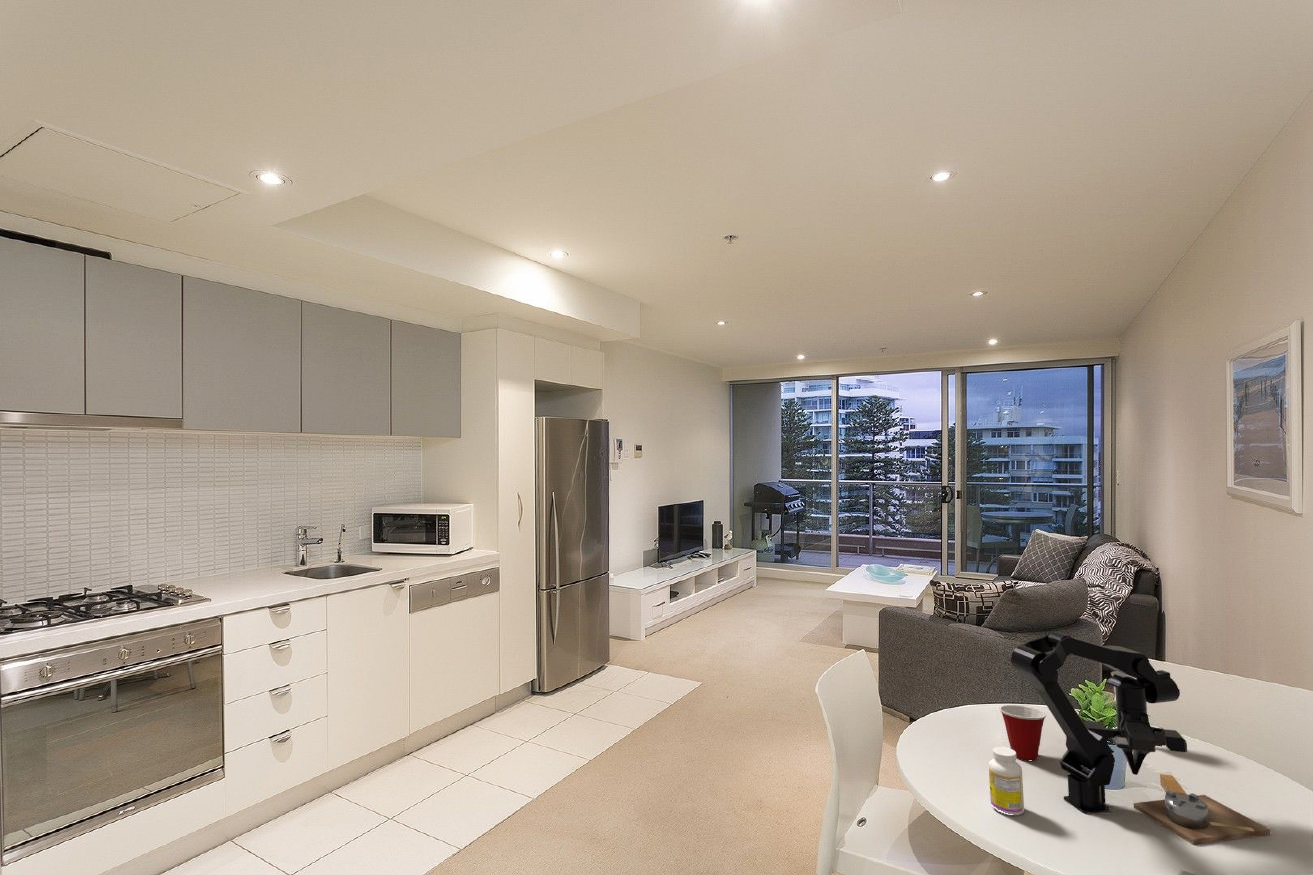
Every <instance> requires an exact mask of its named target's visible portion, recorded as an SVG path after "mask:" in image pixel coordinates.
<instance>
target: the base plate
mask: <svg viewBox="0 0 1313 875" xmlns="http://www.w3.org/2000/svg"><path fill="white" fill-rule="evenodd" d="M1197 795H1198V796H1199V799H1201V800H1202V801H1204V802H1205V803H1206V804H1207V806H1208V823H1209V825H1208V827H1206V828H1191V827H1187V826H1183V825H1180V824H1178V823H1176V822H1174V821H1172V820H1170V819H1169V818H1168V817H1167V816H1166V806H1165V798H1164V799H1158V800H1148V801H1141V802H1133V809H1135V810H1137V811H1139V812H1140V813H1142V814H1144V815H1145V816H1146V817H1148V818H1150V819H1151V820H1153V821H1155V822H1156V823H1158V824H1159V825H1160V826H1163V827H1165V828H1166V829H1168V830H1169V831H1171V832H1172V833H1174V834H1176V835H1177V836H1179V837H1181V838H1183V839H1184V840H1185V841H1187V842H1189V843H1191V845H1199V844H1207V843H1215V842H1222V841H1223V842H1225V841H1231V840H1237V839H1238V840H1239V839H1245V838H1246V839H1247V838H1251V837H1260V836H1268V835H1271V833H1272V832H1271V829H1270V828H1268V827H1266V826H1264V825H1263V824H1261V823H1259V822H1257V821H1255V820H1253V819H1251V818H1249V817H1247V816H1246V815H1244V814H1242V813H1240V812H1238V811H1237V810H1234V809H1232V808H1231V807H1228V806H1226V805H1225V804H1223V803H1222V802H1219V801H1217V800H1215V799H1213V798H1211V797H1210V796H1207V795H1206V794H1197Z"/></svg>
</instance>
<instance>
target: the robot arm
mask: <svg viewBox="0 0 1313 875" xmlns="http://www.w3.org/2000/svg"><path fill="white" fill-rule="evenodd" d="M1049 652H1051V653H1049ZM1047 653H1048V654H1047ZM1070 655H1074V656H1077V657H1081V658H1085V659H1087V660H1091V661H1095V662H1098V663H1101V664H1102V665H1104V666H1106V667H1107V668H1110V669H1111V670H1112V671H1118V672H1121V673H1124V674H1126V675H1129V676H1132V677H1134V678H1137V679H1134V678H1132V677H1121V676H1118V675H1116V674H1114V675H1113V676H1111V677H1110V678H1109V679H1107V680H1106V684H1107V685H1110V686H1112V687H1113V688H1114V687H1115V692H1116V695H1115V709H1116V721H1117V723H1116V728H1110V727H1109V728H1108V727H1105V725H1104V723H1103V722H1102V721H1101V722H1099V721H1090V720H1084V721H1083V720H1082V718H1081V717H1080V715H1079V713H1078V712H1077V710H1076V709H1075V707H1074V706H1073V704H1072V702H1071V701H1070V699H1069V697H1068V696H1067V695H1066V693H1065V692H1064V690H1063V688H1062V687H1061V684H1060V683H1059V681H1058V679H1059V671H1058V670H1059V669H1060V668H1061V667H1063V666H1064V664H1065V662H1066V660H1067V657H1068V656H1070ZM1010 663H1011V665H1012V667H1013V668H1014V669H1015V670H1016V671H1017V673H1018V674H1019V675H1020V676H1021V677H1022V678H1024V679H1025V680H1026V681H1027V682H1029V684H1031V685H1032V686H1033V687H1035V688H1034V689H1035V690H1036V691H1037V693H1038V694H1039V695H1040V697H1041V699H1042V701H1043V702H1044V704H1045V705H1046V707H1047V708H1048V710H1049V711H1050V713H1051V714H1052V716H1053V718H1054V719H1055V721H1056V723H1057V724H1058V725H1059V727H1060V728H1061V730H1062V732H1063V733H1064V735H1065V737H1066V739H1065V746H1066V749H1067V750H1066V751H1065V752H1064V754H1063V755H1062V757H1061V758H1059V761H1058V763H1059V765H1060V766H1059V767H1060V768H1061V770H1062V771H1065V772H1066V773H1068V774H1067V791H1068V792H1067V793H1068V795H1064V796H1063V800H1064V801H1066V802H1067V803H1069V804H1071V805H1072V806H1073V807H1075V808H1076V809H1078V810H1080V811H1081V812H1082V813H1084V814H1091V813H1100V812H1101V813H1102V812H1110V811H1111V807H1110V806H1109V805H1107V804H1106V801H1107V800H1106V786H1110V784H1111V780H1112V776H1113V772H1114V769H1115V762H1116V760H1115V756H1114V753H1115V751H1114V750H1113V749H1112V748H1111V747H1110V745H1109V743H1108V741H1109V738H1110V739H1111V740H1112V742H1113V743H1114V745H1115V746H1116V747H1117V748H1118V749H1121V750H1122V752H1123V754H1124V756H1125V757H1124V758H1125V759H1126V761H1127V764H1128V766H1129V769H1130V771H1131V773H1132V775H1139V772H1140V770H1141V767H1142V764H1143V763H1144V760H1145V758H1146V757H1147V755H1149V754H1150V753H1155V752H1156V751H1157V749H1156V747H1163V746H1165V747H1166V748H1167V749H1168V750H1169V751H1170V752H1178V753H1188V744H1187V740H1186V739H1185V738H1184V737H1183V736H1182V734H1180V733H1179V732H1178V731H1177V730H1176V729H1175V730H1174V729H1165V728H1163V727H1155V726H1152V725H1151V724H1150V721H1149V715H1148V706H1147V703H1148V704H1160V703H1169V702H1176V701H1177V700H1178V699H1179V697H1180V695H1181V694H1180V693H1181V690H1180V689H1179V686H1178V685H1177V683H1176V681H1175V680H1174V679H1172V677H1171V672H1169V671H1165V670H1162V669H1160V670H1155V668H1154V667H1153V665H1152V664H1151V663H1150V659H1149V657H1148V655H1147V654H1144V653H1143V652H1140V651H1139V652H1138V651H1135V650H1133V649H1130V648H1126V647H1123V646H1119V645H1099V644H1097V643H1096V644H1095V643H1093V642H1091V641H1090V642H1089V641H1085V640H1082V639H1080V638H1076V637H1073V636H1072V635H1071V636H1070V635H1069V634H1065V633H1062V632H1059V631H1050V632H1048V633H1047V634H1045V635H1044V636H1042V637H1041V636H1040V637H1038V638H1034V639H1031V640H1028V641H1026V642H1025V643H1023V644H1021V645H1019V646H1017V647H1015V648H1014V650H1013V651H1012V653H1011V657H1010Z"/></svg>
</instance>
